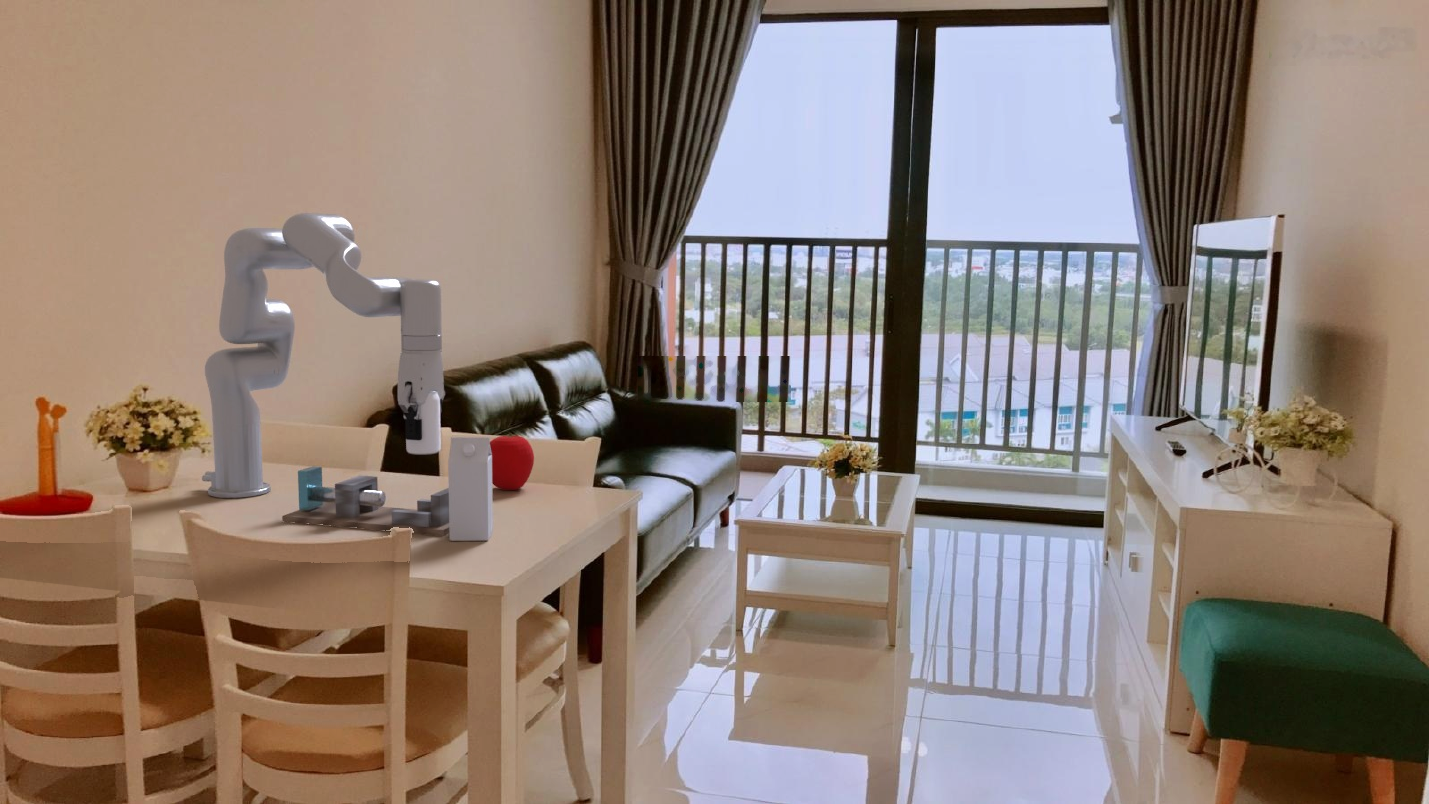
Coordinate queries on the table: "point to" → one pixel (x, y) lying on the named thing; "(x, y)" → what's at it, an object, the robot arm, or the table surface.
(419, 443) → the can
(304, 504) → the shaft
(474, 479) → the milk carton
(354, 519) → the base plate with brackets
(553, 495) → the table surface
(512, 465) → the tomato
